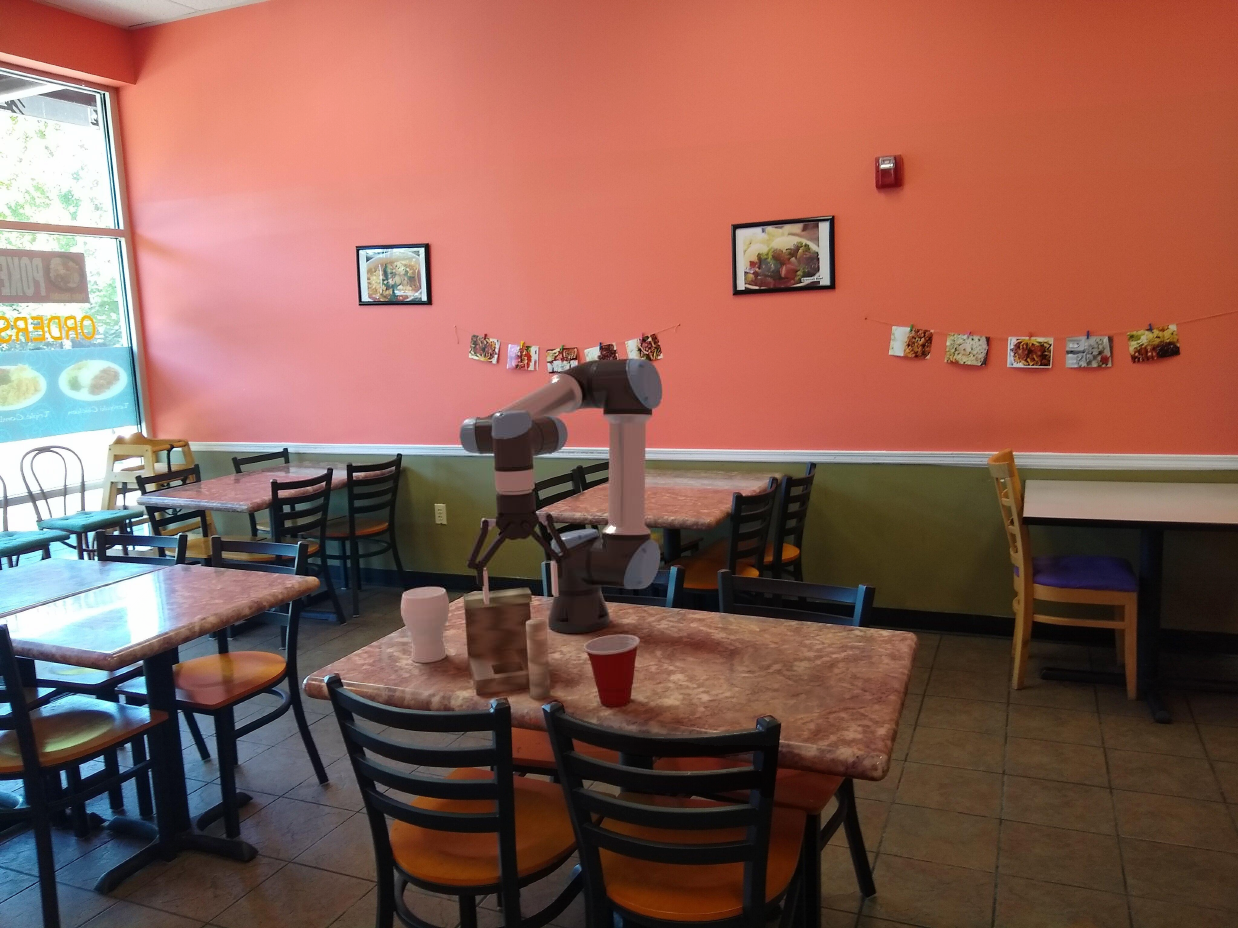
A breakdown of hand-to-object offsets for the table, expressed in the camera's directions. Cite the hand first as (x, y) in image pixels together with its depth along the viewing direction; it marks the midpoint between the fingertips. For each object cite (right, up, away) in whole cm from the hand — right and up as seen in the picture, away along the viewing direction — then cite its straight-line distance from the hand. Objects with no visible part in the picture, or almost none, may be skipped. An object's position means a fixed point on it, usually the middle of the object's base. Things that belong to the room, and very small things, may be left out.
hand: (521, 598), depth 180 cm
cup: (-24, -17, +27) cm, 40 cm away
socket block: (-5, -18, +14) cm, 23 cm away
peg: (+4, -19, +1) cm, 20 cm away
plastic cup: (+18, -19, -3) cm, 27 cm away
